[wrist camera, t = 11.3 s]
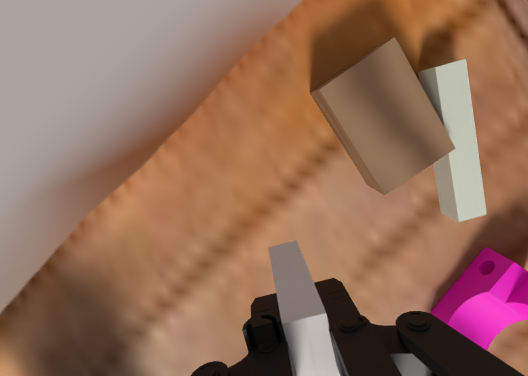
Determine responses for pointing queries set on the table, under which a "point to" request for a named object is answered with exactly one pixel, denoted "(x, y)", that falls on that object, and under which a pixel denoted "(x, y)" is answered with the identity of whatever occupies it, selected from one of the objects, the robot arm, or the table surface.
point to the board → (456, 141)
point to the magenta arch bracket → (485, 298)
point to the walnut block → (383, 117)
